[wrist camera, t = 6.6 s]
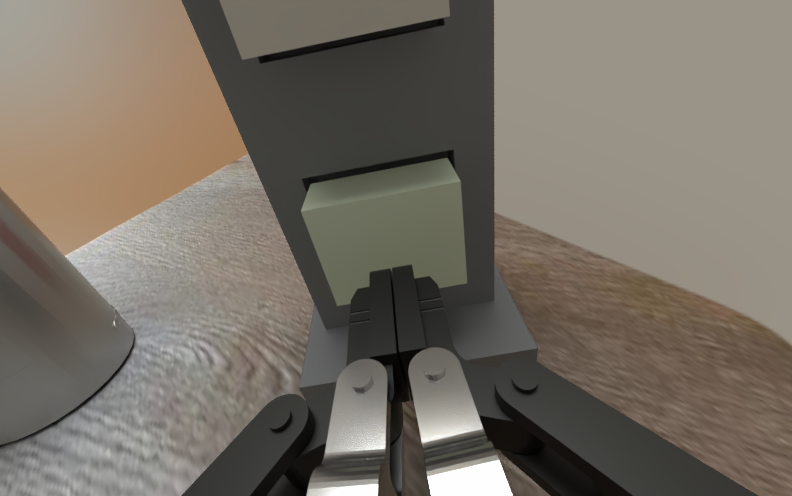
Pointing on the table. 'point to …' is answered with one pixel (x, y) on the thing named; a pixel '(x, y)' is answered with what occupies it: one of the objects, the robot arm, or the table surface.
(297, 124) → the keypad panel
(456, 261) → the block
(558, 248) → the table surface
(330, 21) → the key middle
